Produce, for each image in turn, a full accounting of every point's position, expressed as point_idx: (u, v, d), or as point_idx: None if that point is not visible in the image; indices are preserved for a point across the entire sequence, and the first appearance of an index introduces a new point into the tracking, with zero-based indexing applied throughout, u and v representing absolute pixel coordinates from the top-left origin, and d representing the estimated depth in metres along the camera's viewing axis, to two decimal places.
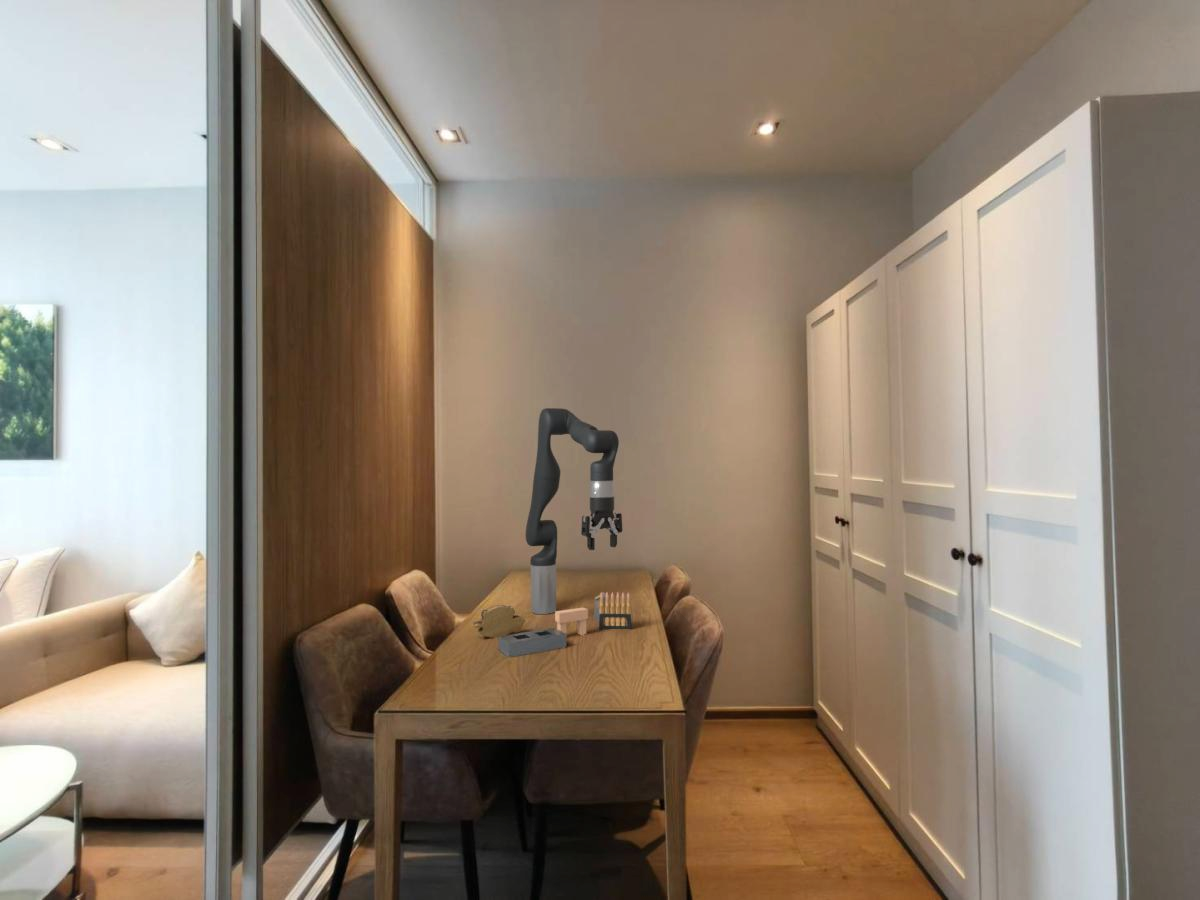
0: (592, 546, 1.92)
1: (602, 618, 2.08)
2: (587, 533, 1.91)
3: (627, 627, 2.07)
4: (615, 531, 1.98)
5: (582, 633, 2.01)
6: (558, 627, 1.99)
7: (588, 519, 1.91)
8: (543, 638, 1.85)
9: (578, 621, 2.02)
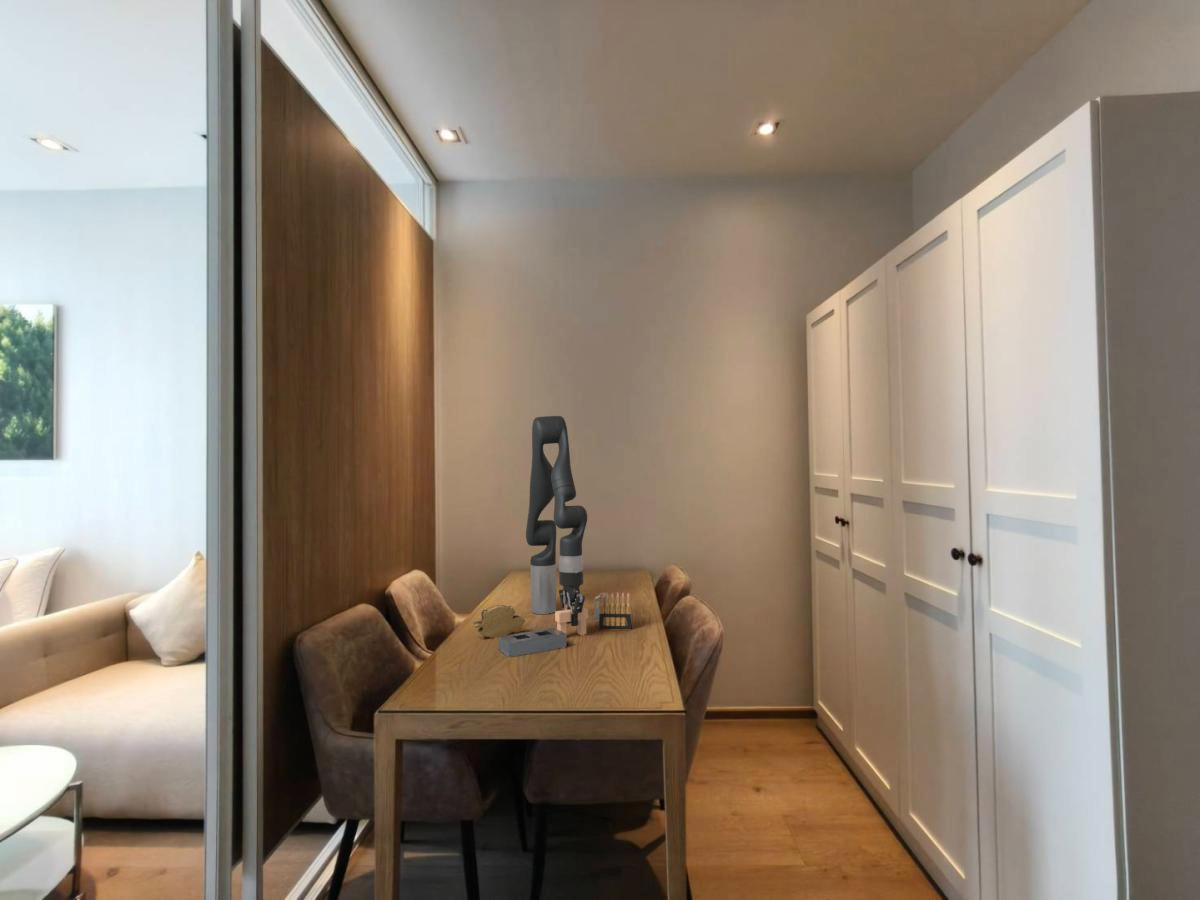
0: None
1: (602, 618, 2.08)
2: None
3: (627, 627, 2.07)
4: None
5: (582, 633, 2.01)
6: (558, 627, 1.99)
7: None
8: (543, 638, 1.85)
9: (578, 621, 2.02)
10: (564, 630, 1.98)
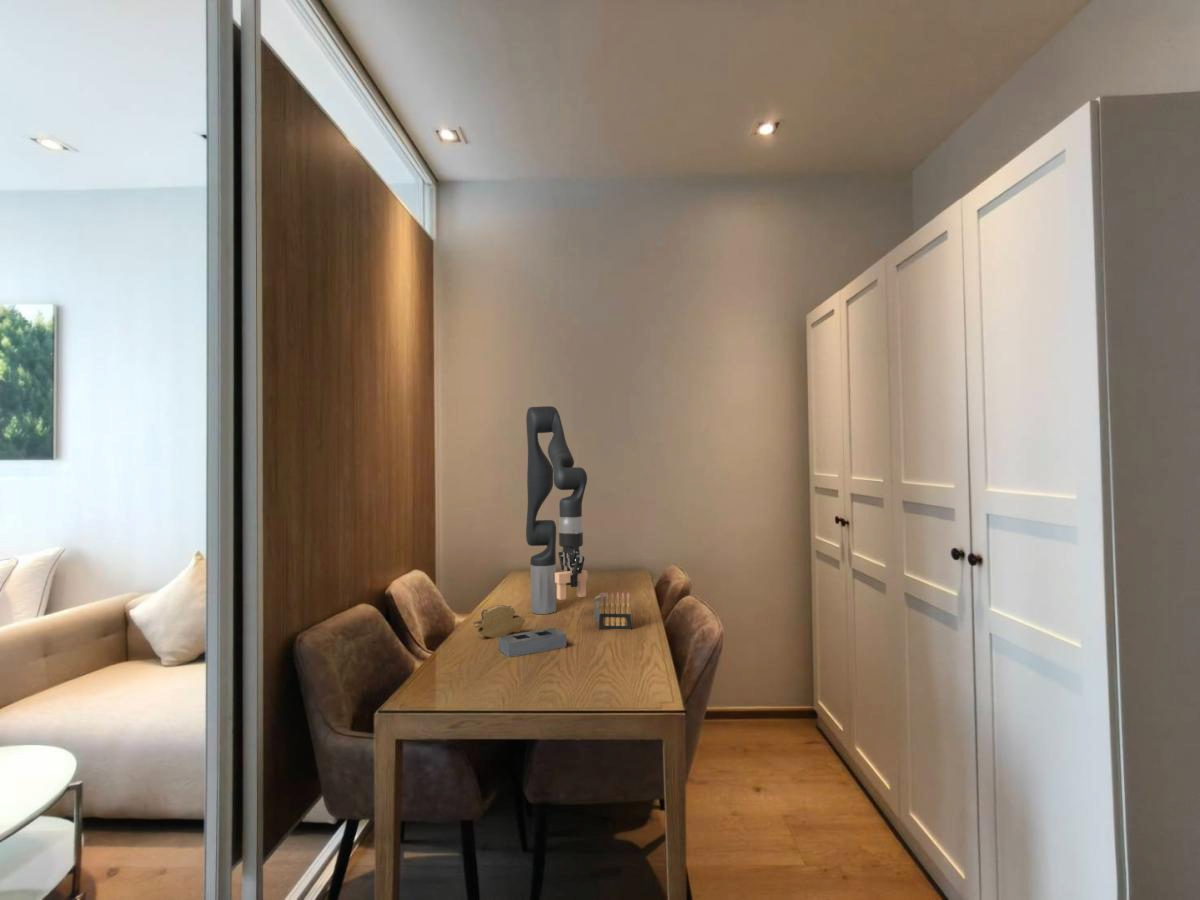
0: None
1: (602, 618, 2.08)
2: None
3: (627, 627, 2.07)
4: None
5: (582, 594, 2.02)
6: (558, 588, 1.99)
7: None
8: (543, 638, 1.85)
9: (578, 583, 2.03)
10: (564, 591, 1.99)
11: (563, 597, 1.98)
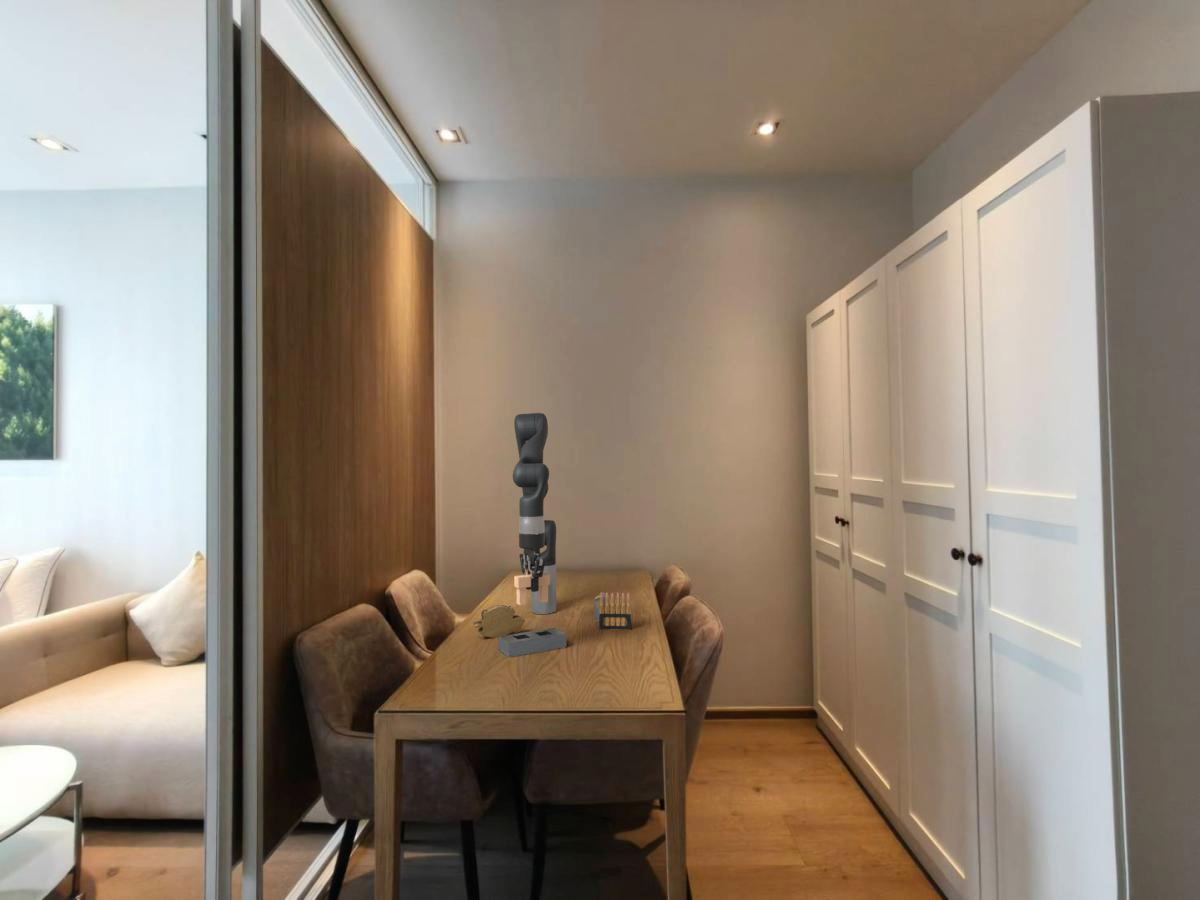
0: (538, 587, 1.87)
1: (602, 618, 2.08)
2: None
3: (627, 627, 2.07)
4: None
5: (543, 600, 1.88)
6: (517, 592, 1.86)
7: None
8: (543, 638, 1.85)
9: (539, 587, 1.89)
10: (524, 596, 1.85)
11: (523, 602, 1.85)
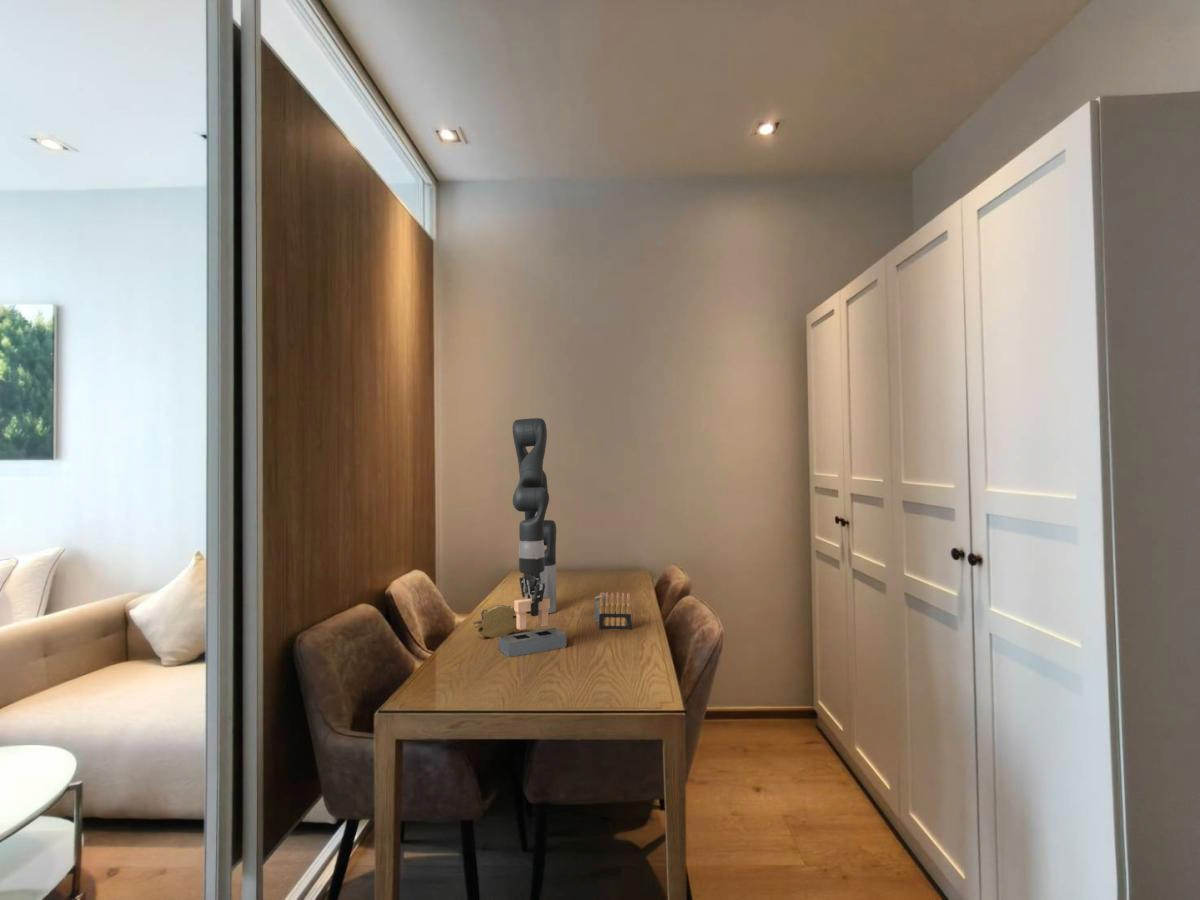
0: (538, 611, 1.86)
1: (602, 618, 2.08)
2: None
3: (627, 627, 2.07)
4: None
5: (543, 624, 1.88)
6: (517, 617, 1.86)
7: None
8: (543, 638, 1.85)
9: (539, 611, 1.89)
10: (523, 620, 1.85)
11: (523, 627, 1.85)
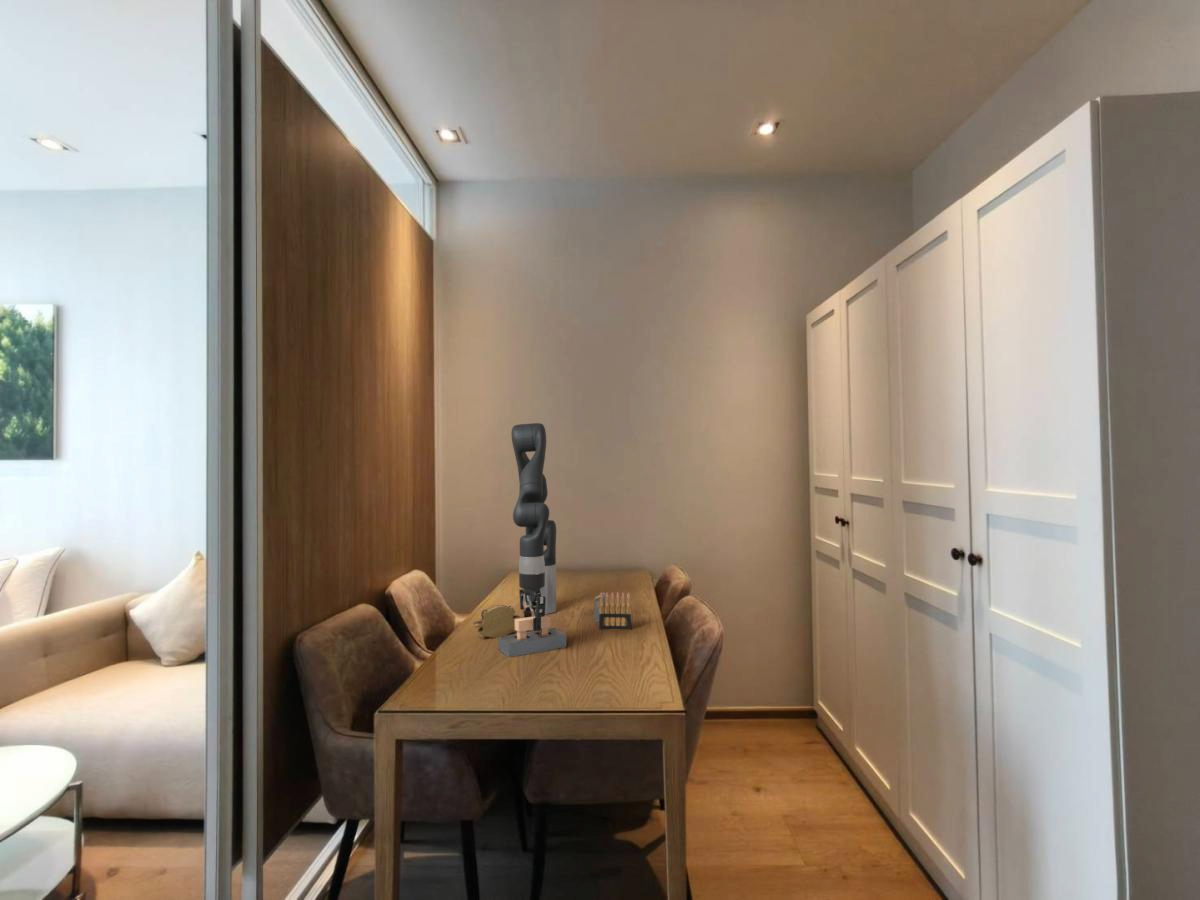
0: (540, 626, 1.85)
1: (602, 618, 2.08)
2: None
3: (627, 627, 2.07)
4: None
5: None
6: (518, 635, 1.86)
7: None
8: (543, 638, 1.85)
9: None
10: None
11: None
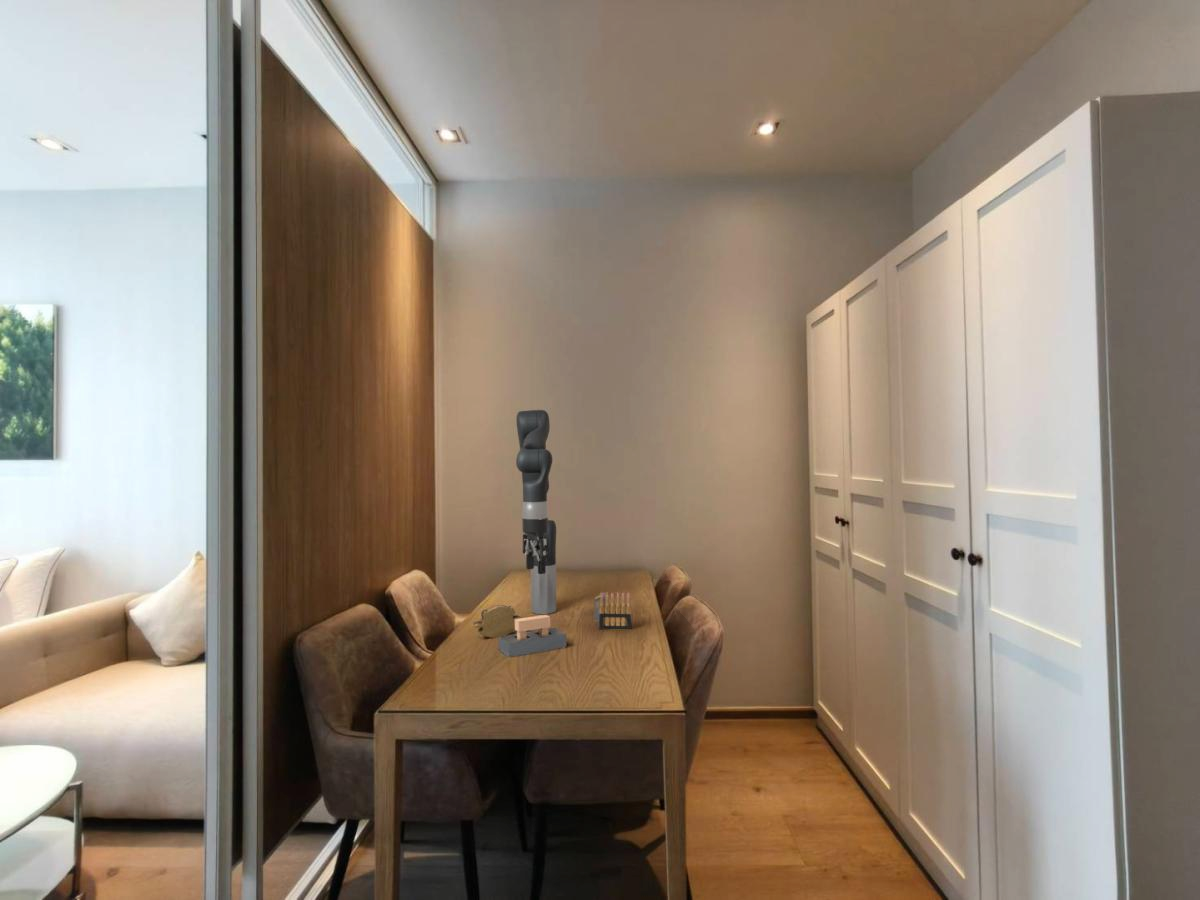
0: (545, 569, 1.86)
1: (602, 618, 2.08)
2: None
3: (627, 627, 2.07)
4: None
5: None
6: (518, 635, 1.86)
7: None
8: (543, 638, 1.85)
9: (540, 629, 1.89)
10: None
11: None
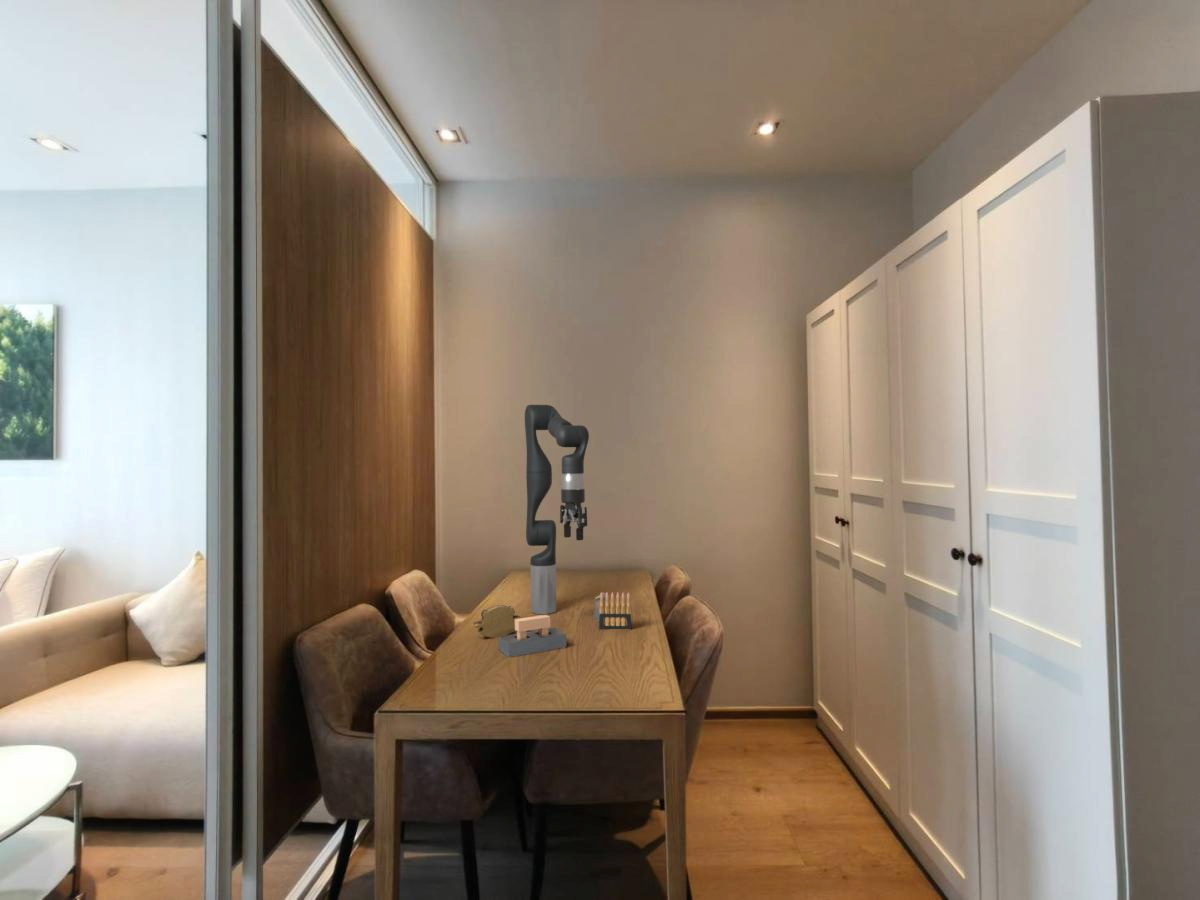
0: (582, 536, 2.00)
1: (602, 618, 2.08)
2: None
3: (627, 627, 2.07)
4: None
5: None
6: (518, 635, 1.86)
7: None
8: (543, 638, 1.85)
9: (540, 629, 1.89)
10: None
11: None
